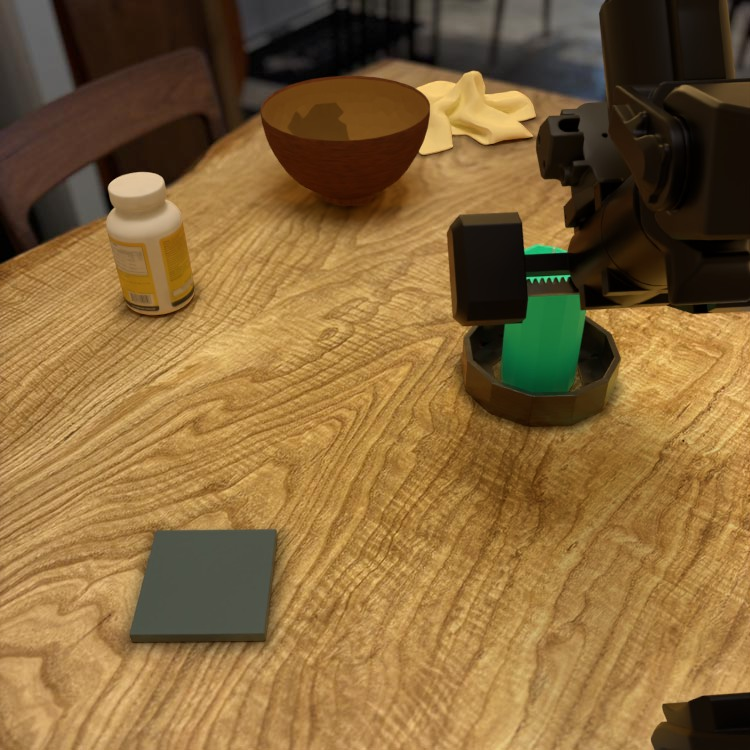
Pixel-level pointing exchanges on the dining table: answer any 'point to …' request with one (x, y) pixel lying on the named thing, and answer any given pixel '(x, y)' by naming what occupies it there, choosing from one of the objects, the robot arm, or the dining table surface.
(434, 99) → the cloth
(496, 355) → the pan
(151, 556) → the coaster
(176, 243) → the pill bottle
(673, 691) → the dining table surface
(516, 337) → the candle
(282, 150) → the bowl
